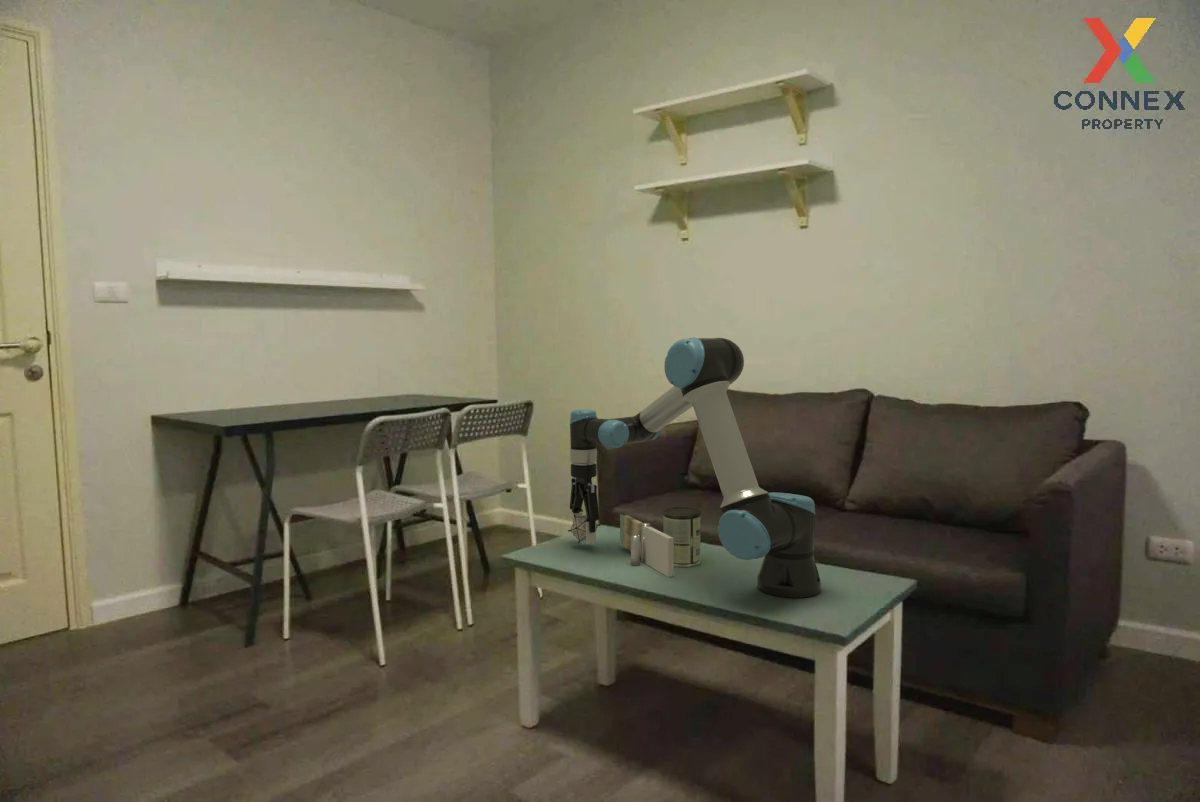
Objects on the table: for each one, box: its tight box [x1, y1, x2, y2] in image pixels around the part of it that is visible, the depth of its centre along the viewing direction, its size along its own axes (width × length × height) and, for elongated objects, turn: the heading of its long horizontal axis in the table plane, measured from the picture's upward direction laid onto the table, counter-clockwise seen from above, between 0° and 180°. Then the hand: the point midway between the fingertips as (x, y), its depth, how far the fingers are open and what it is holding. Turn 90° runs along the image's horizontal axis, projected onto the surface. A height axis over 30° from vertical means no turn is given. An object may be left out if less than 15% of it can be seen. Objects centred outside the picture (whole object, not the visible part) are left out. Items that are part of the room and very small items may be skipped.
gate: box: [619, 513, 643, 558], centre depth 217 cm, size 13×2×9 cm, turn 23°
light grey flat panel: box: [644, 526, 674, 578], centre depth 203 cm, size 13×2×10 cm, turn 23°
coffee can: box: [662, 506, 702, 568], centre depth 210 cm, size 10×10×14 cm
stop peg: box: [630, 534, 641, 567], centre depth 207 cm, size 2×2×8 cm
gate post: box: [640, 522, 651, 564], centre depth 210 cm, size 2×2×10 cm
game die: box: [567, 514, 601, 544], centre depth 224 cm, size 9×8×10 cm
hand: (584, 538), depth 225 cm, fingers closed on game die, 10 cm apart
